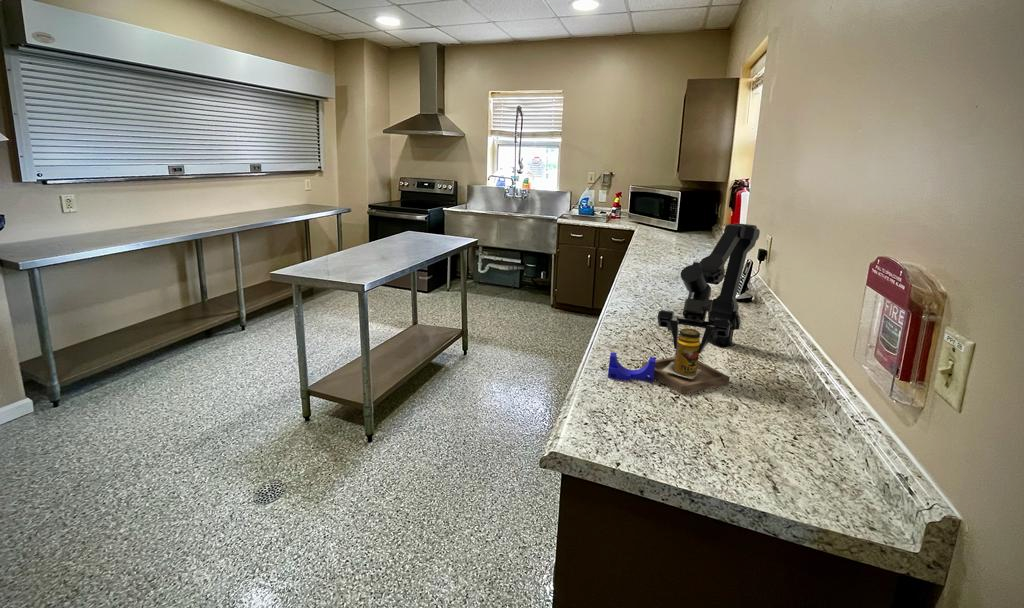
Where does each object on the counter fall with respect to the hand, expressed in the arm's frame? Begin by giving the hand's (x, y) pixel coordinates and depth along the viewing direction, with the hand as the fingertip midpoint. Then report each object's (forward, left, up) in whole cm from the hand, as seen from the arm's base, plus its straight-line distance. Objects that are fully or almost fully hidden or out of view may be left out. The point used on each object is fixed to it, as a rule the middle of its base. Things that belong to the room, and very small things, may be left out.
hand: (687, 350), depth 136 cm
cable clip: (+13, -6, -9) cm, 17 cm away
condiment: (-1, -1, -7) cm, 7 cm away
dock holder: (-1, -1, -8) cm, 8 cm away
